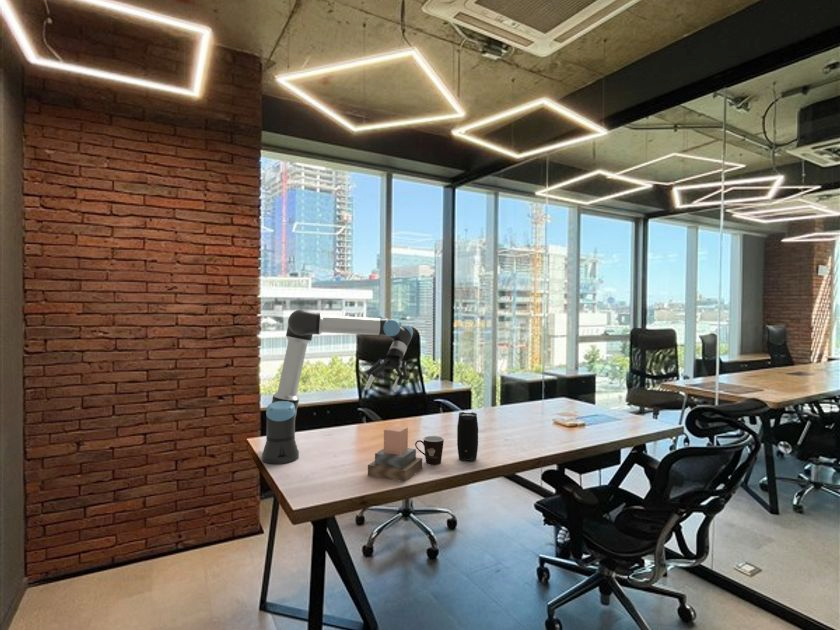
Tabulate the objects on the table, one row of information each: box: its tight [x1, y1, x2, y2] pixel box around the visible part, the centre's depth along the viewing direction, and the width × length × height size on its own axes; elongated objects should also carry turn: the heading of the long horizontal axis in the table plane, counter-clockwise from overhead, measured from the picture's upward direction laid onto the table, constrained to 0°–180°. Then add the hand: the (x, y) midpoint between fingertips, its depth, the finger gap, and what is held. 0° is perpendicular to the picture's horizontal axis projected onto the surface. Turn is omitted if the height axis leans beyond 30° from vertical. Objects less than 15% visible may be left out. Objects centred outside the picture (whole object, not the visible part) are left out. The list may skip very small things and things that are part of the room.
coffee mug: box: [414, 435, 445, 466], centre depth 190 cm, size 12×9×10 cm
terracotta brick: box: [383, 425, 409, 455], centre depth 178 cm, size 7×7×9 cm
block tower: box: [367, 447, 423, 482], centre depth 178 cm, size 16×16×8 cm
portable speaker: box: [456, 411, 479, 462], centre depth 194 cm, size 9×9×20 cm
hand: (380, 389), depth 199 cm, fingers open, 13 cm apart
